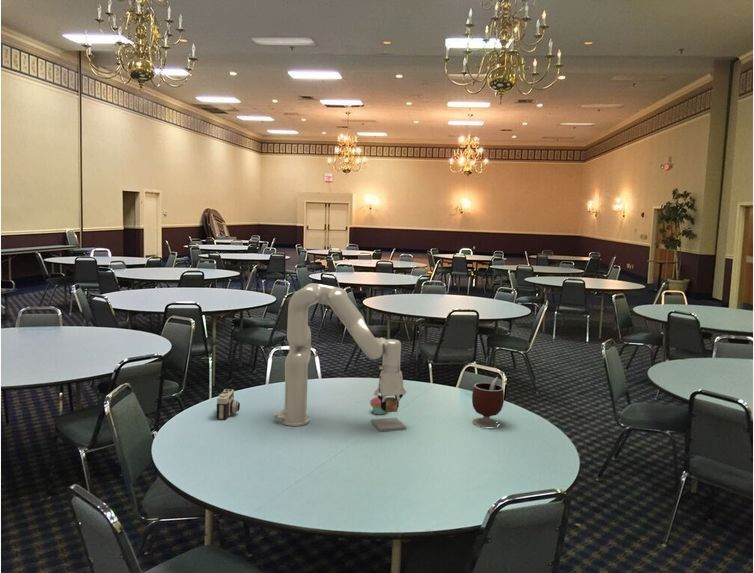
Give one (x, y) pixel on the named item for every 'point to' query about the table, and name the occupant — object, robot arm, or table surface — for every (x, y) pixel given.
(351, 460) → the table surface
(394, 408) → the walnut cube
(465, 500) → the table surface
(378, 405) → the cupcake
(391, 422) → the slate coaster
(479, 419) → the mate gourd
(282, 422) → the robot arm
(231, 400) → the camera
